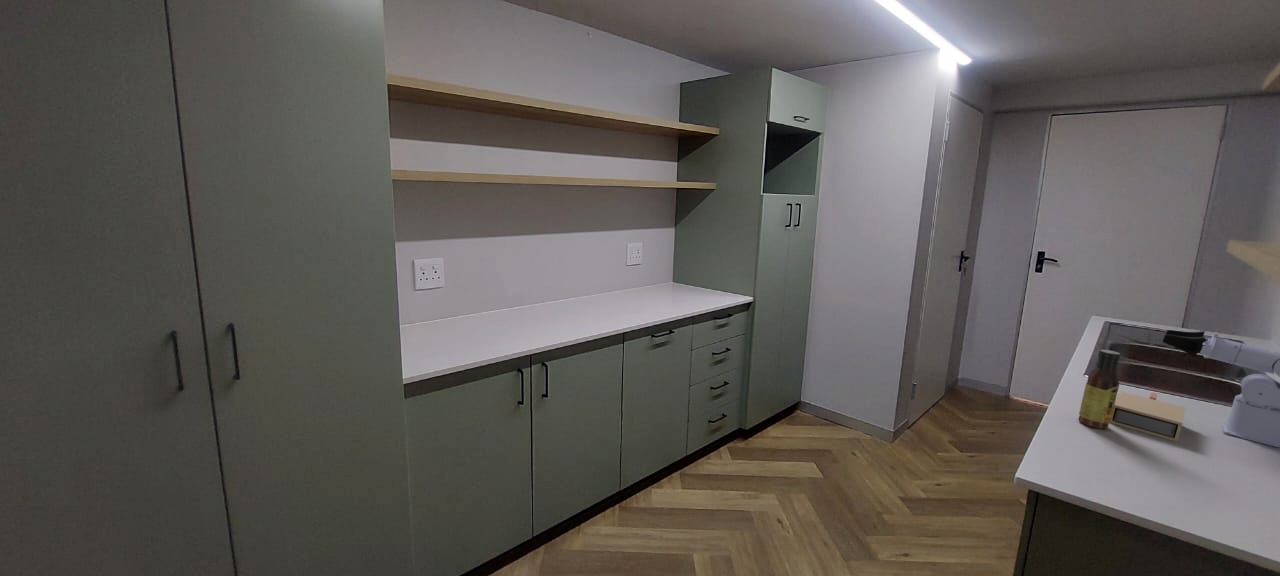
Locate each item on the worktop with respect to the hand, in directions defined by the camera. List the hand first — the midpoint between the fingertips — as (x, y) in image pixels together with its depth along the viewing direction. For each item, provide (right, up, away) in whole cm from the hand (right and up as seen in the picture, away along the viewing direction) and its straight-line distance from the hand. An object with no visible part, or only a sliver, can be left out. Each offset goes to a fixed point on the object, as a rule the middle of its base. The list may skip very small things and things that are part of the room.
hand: (1165, 335), depth 144 cm
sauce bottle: (-27, -23, -7) cm, 36 cm away
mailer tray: (-9, -22, -4) cm, 24 cm away
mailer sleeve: (-11, -23, -5) cm, 26 cm away
